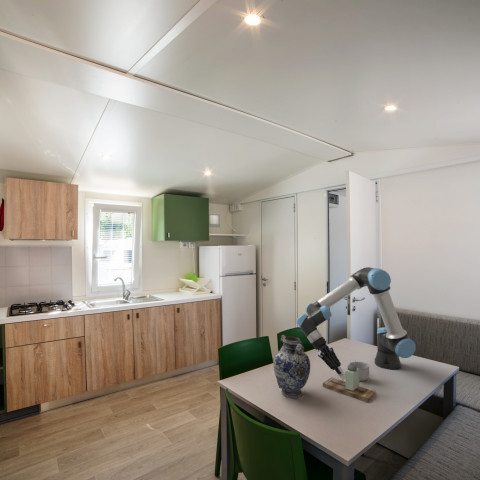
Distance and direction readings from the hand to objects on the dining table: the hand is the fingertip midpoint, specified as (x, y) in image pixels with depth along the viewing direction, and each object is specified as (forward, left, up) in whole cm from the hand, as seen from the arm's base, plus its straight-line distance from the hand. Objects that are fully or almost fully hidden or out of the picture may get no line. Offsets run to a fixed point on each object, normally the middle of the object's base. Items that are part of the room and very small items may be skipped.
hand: (345, 379), depth 163 cm
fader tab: (-2, +2, -3) cm, 5 cm away
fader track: (-1, +1, -6) cm, 6 cm away
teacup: (-17, -11, -6) cm, 22 cm away
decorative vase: (+28, -6, -6) cm, 29 cm away
